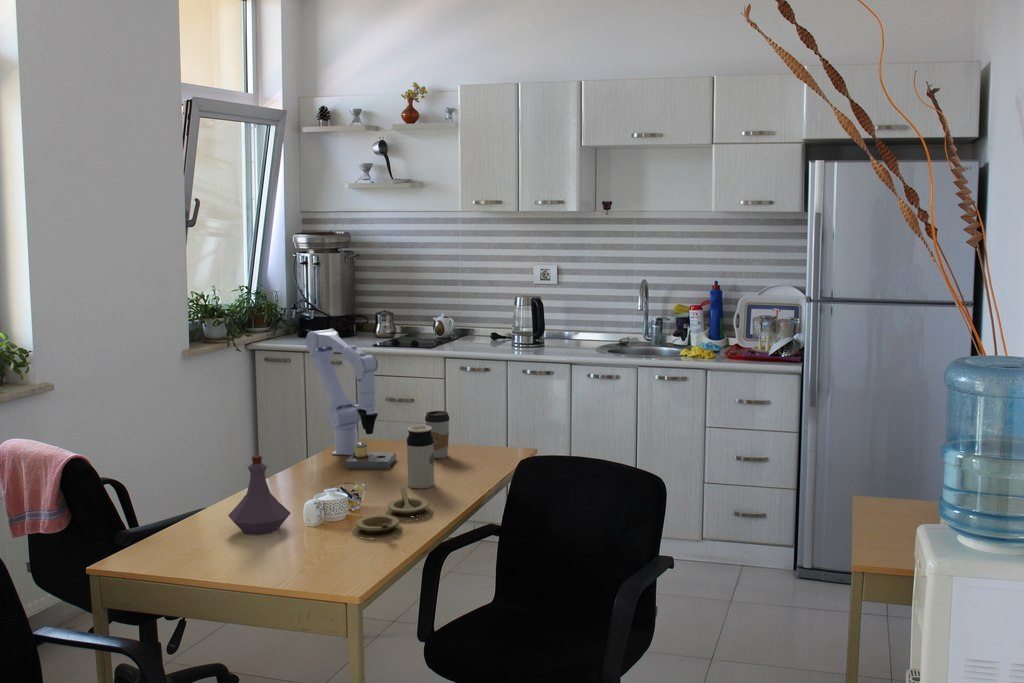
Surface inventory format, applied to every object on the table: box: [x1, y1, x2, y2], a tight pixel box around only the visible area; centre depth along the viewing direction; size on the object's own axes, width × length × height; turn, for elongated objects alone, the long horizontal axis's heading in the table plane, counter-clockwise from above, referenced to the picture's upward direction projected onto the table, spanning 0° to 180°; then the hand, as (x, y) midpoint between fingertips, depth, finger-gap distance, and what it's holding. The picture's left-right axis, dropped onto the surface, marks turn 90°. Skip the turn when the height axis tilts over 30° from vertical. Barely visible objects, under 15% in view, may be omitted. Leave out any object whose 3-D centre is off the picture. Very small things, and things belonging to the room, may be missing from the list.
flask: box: [227, 455, 291, 536], centre depth 273 cm, size 16×16×20 cm
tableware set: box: [351, 487, 434, 540], centre depth 279 cm, size 30×20×6 cm, turn 156°
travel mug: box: [406, 424, 435, 490], centre depth 312 cm, size 8×8×18 cm
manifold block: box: [344, 451, 397, 470], centre depth 339 cm, size 12×14×2 cm
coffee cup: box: [424, 410, 450, 459], centre depth 347 cm, size 8×8×15 cm
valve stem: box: [355, 441, 368, 459], centre depth 339 cm, size 4×4×7 cm
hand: (367, 431), depth 345 cm, fingers open, 7 cm apart
